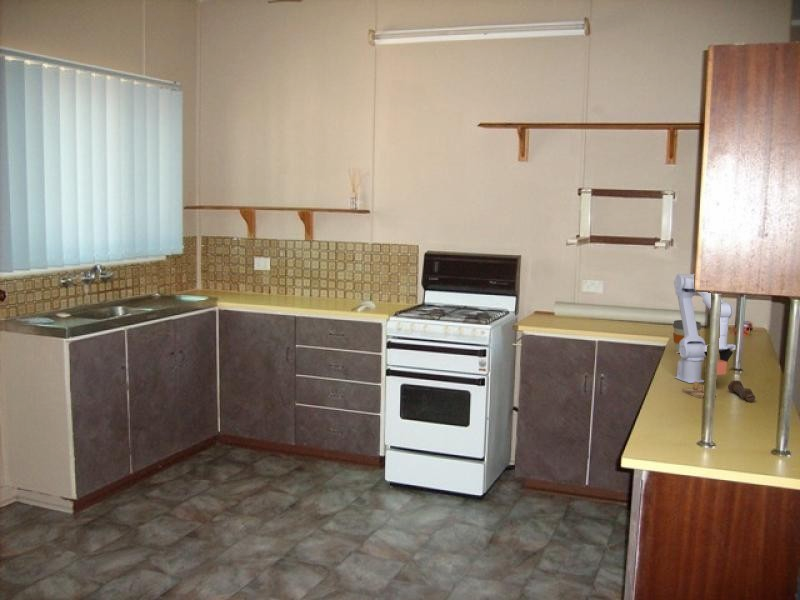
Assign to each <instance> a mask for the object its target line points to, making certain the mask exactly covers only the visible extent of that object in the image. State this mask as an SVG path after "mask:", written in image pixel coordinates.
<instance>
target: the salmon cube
mask: <svg viewBox="0 0 800 600" xmlns="http://www.w3.org/2000/svg"><path fill="white" fill-rule="evenodd" d="M717 359H718V358H717ZM727 366H728V362H727V361H723V360H720V358H719V359H718V363H717V375H716V376H721V375H727Z"/></svg>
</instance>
